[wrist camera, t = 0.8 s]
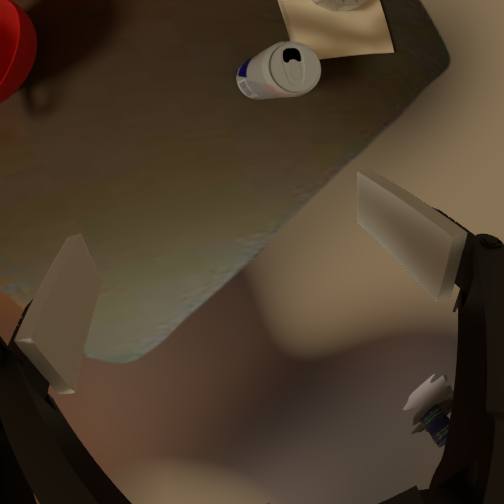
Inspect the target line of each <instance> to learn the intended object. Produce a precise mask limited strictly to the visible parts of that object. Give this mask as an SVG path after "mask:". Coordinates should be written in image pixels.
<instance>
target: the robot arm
mask: <svg viewBox="0 0 504 504" xmlns="http://www.w3.org/2000/svg"><path fill="white" fill-rule="evenodd" d="M357 180H358V181H357V183H358V184H357V185H358V186H357V188H358V189H357V191H358V192H357V195H358V197H357V200H358V201H357V202H358V203H357V223H358V224H360V225H361V226H362V227H363V228H364V229H365V230H366V231H367V232H368V233H369V234H370V235H371V236H372V237H373V238H374V239H375V240H376V241H377V242H378V243H379V244H381V246H383V248H384V249H386V250H387V251H388V252H389V253H390V254H391V255H392V256H393V257H394V258H395V259H396V260H397V261H398V262H399V263H400V264H401V266H402V267H404V269H405V270H406V271H407V272H408V273H409V274H410V275H411V276H412V277H413V278H414V279H415V280H416V281H417V282H418V283H419V284H420V285H421V286H422V287H423V288H424V289H425V291H426V292H427V293H428V294H429V295H430V296H431V297H432V298H433V299H434V300H435V301H436V302H439V301H441V300H444V299H446V298H448V297H450V296H451V294H452V290H453V287H454V284H456V285H457V286H458V287H459V288H460V291H459V294H458V297H457V300H456V303H455V306H454V309H453V312H456V309H457V308H458V347H457V363H456V375H455V385H454V394H453V402H452V409H451V416H450V422H449V428H448V433H447V438H446V443H445V448H444V453H443V456H442V459H441V461H440V463H439V465H438V467H437V469H436V471H435V473H434V475H433V478H432V480H431V483H430V486H429V489H424V490H418V488H417V486H414V487H412V488H410V489H408V490H407V491H404V492H403V493H400V494H398V495H396V496H394V497H392V498H390V499H388V500H386V501H383V502H381V503H379V504H504V244H503V243H502V242H501V241H500V240H499V239H498V238H496V237H494V236H491V235H488V234H478V235H476V236H475V235H474V234H472V233H471V232H470V231H468V230H467V229H466V228H464V227H463V226H461V225H460V224H459V223H457V222H455V221H454V220H453V219H452V218H450V217H448V216H447V215H446V214H444V213H443V212H442V211H440V210H438V209H435V208H433V207H430V206H429V205H428V204H426V203H425V202H423V201H421V200H420V199H418V198H417V197H415V196H414V195H412V194H411V193H409V192H408V191H406V190H404V189H403V188H401V187H400V186H398V185H396V184H395V183H393V182H391V181H390V180H388V179H386V178H385V177H383V176H381V175H379V174H378V173H376V172H374V171H373V170H371V169H369V170H363V171H357ZM101 284H102V279H101V277H100V275H99V273H98V271H97V269H96V266H95V264H94V262H93V260H92V257H91V255H90V253H89V251H88V248H87V246H86V244H85V241H84V239H83V237H82V234H81V233H80V234H76V235H73V236H70V237H67V239H66V241H65V242H64V244H63V246H62V247H61V249H60V251H59V252H58V254H57V256H56V257H55V259H54V261H53V263H52V265H51V266H50V268H49V270H48V272H47V274H46V275H45V277H44V279H43V281H42V283H41V285H40V287H39V289H38V291H37V293H36V295H35V297H34V299H32V300H31V302H30V303H29V304H28V305H27V306H26V308H25V309H24V312H23V314H22V316H21V319H20V320H19V322H18V326H16V329H15V331H14V333H13V336H12V338H11V340H10V343H9V345H8V346H7V345H6V343H5V342H4V341H3V339H2V338H1V337H0V504H37V503H36V500H35V497H34V495H35V496H36V498H37V500H38V502H39V503H40V504H132V503H131V502H130V501H129V500H128V499H127V498H126V497H125V496H124V495H123V494H122V493H121V491H120V490H119V489H118V488H117V487H116V486H115V485H114V483H113V482H112V481H111V480H110V479H109V478H108V476H107V475H106V474H105V473H104V472H103V470H102V469H101V468H100V466H99V465H98V464H97V463H96V461H94V459H93V457H92V456H91V455H90V454H89V452H88V451H87V449H86V448H85V447H84V445H83V444H82V443H81V441H80V440H79V438H78V437H77V435H76V434H75V433H74V431H73V430H72V428H71V427H70V425H69V424H68V422H67V420H66V419H65V417H64V416H63V414H62V413H61V411H60V410H59V408H58V406H57V405H56V403H55V401H54V399H53V398H52V397H51V396H50V395H49V394H48V388H49V384H50V385H51V386H52V387H53V389H54V390H55V391H56V392H57V393H58V394H66V393H75V391H76V385H77V380H78V375H79V370H80V365H81V361H82V356H83V352H84V347H85V343H86V339H87V335H88V331H89V327H90V323H91V319H92V316H93V312H94V308H95V305H96V301H97V298H98V294H99V291H100V288H101ZM33 493H34V494H33Z"/></svg>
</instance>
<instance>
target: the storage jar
mask: <svg viewBox="0 0 504 504" xmlns="http://www.w3.org/2000/svg"><path fill="white" fill-rule="evenodd" d="M420 422H421V423H422V424H423V427H424V428H425V429H426V430H427V431H428V432H429V433H430V435H431V436H432V439H433V440H434V442H435V443H436V444H437V445H438V447H442V446H443V445H445V443H446V438H447V433H448V428H449V422H450V419H449V418H448V417H447V415H446V413H445V412H444V410H443V409H442V408H441V407H440V406H439V404H437V405H434V406H433V407H431V408H430V409H428V410H427V411H426V412H425V413H424V414H423V415H422V416H421V418H420Z"/></svg>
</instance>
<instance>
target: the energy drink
mask: <svg viewBox="0 0 504 504" xmlns="http://www.w3.org/2000/svg"><path fill="white" fill-rule="evenodd" d="M320 76H321V64H320V61H319V59H318V56H317V55H316V54H315V52H314V51H313V50H312V49H311V48H310V47H308V46H307V45H305V44H302V43H300V42H294V41H283V42H279V43H277V44H275V45H273V46H271V47H269V48H267V49H266V50H264V51H262V52H261V53H259V54H257V55H256V56H254V57H252V58H251V59H249V60H247V61H246V62H244V63H243V64H242V65H241V66H240V68H239V69H238V72H237V77H236V79H237V84H238V87H239V89H240V90H241V92H242V93H243V94H245V95H246V96H247V97H249V98H252V99H257V100H261V99H272V98H284V97H297V96H302V95H304V94H306V93H308V92H309V91H310V90H311V89H313V88H314V87H315V86H316V85H317V83H318V81H319V79H320Z"/></svg>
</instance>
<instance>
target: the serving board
mask: <svg viewBox="0 0 504 504" xmlns="http://www.w3.org/2000/svg"><path fill="white" fill-rule="evenodd" d="M278 3H279V6H280V9H281V12H282V15H283V18H284V21H285V25H286V28H287V31H288V34H289V38H290V41H294V42H300V43H302V44H305V45H307V46H308V47H310V48H311V49H312V50H313V51H314V52H315V54H316V55H317V56H318V59H319V60H320V59H328V58H336V57H345V56H355V55H366V54H381V53H393V52H394V49H393V45H392V41H391V37H390V34H389V30H388V26H387V23H386V19H385V16H384V13H383V9H382V6H381V3H380V0H367V1H366V2H365V3H363V4H362V5H361V6H359V7H356V8H354V9H351V10H349V11H335V12H332V11H330V10H327V9H325V8H323V7H320V6H318V5H316V4H315V3H314V2H313V1H312V0H278Z"/></svg>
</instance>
